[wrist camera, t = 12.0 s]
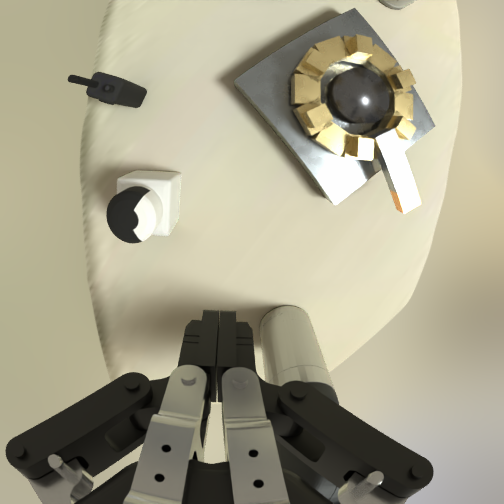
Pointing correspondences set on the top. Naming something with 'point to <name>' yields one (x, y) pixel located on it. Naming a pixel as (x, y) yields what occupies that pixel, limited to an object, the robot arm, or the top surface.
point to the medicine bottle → (145, 205)
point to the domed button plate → (328, 105)
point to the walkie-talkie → (112, 89)
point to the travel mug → (396, 3)
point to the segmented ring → (376, 141)
